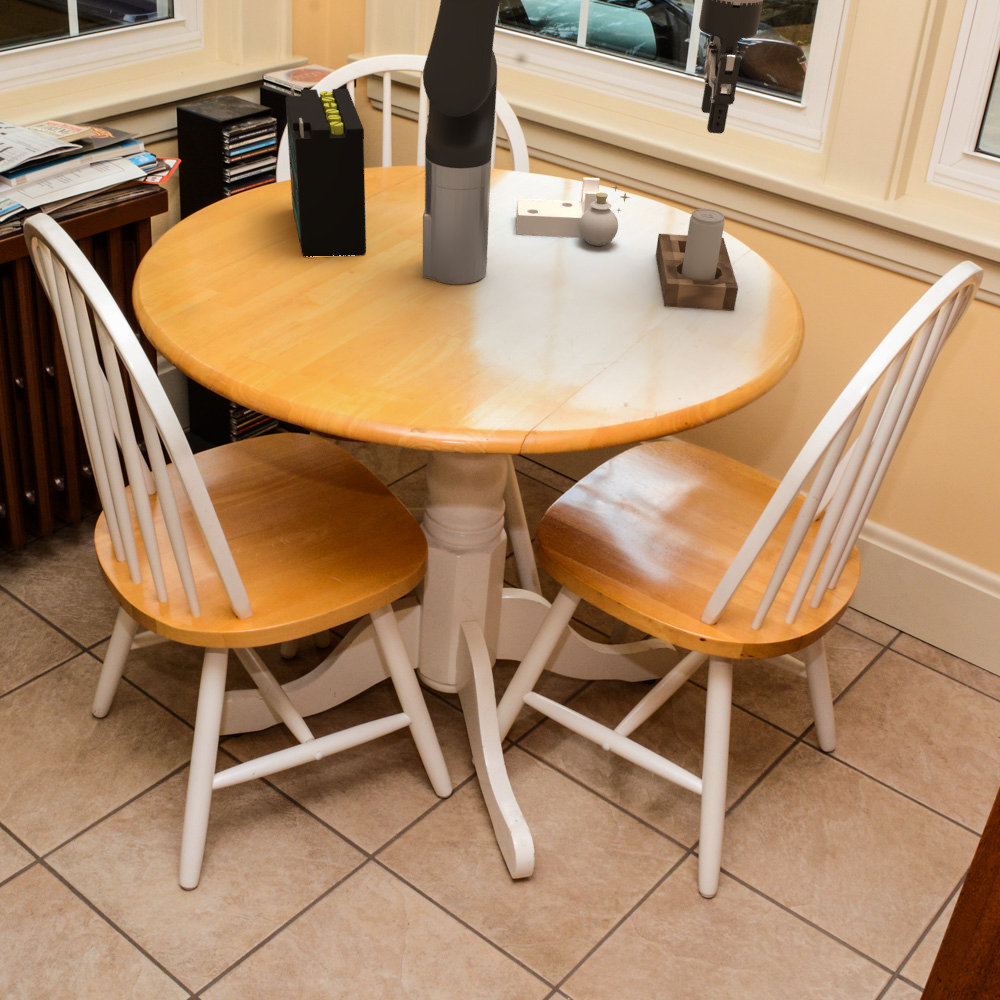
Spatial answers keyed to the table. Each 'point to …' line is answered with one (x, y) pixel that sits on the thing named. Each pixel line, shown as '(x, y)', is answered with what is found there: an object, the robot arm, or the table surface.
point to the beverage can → (703, 244)
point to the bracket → (555, 213)
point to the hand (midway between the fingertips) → (711, 122)
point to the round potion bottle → (599, 221)
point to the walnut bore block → (688, 290)
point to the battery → (327, 172)
